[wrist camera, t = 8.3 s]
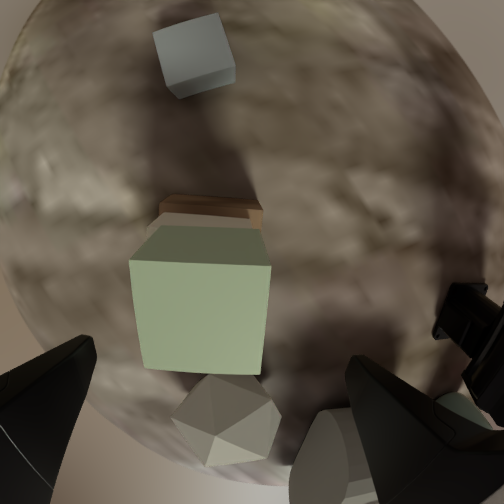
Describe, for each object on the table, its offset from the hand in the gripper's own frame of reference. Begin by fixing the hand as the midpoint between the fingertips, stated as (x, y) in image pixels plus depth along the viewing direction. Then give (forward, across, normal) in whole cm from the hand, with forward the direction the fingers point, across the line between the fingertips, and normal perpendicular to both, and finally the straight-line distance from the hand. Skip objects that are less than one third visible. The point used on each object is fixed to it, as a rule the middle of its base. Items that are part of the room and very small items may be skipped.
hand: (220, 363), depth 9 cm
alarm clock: (+13, -15, +24) cm, 31 cm away
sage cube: (+6, +1, -1) cm, 6 cm away
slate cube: (+13, +3, -13) cm, 18 cm away
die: (+13, -1, +14) cm, 19 cm away
